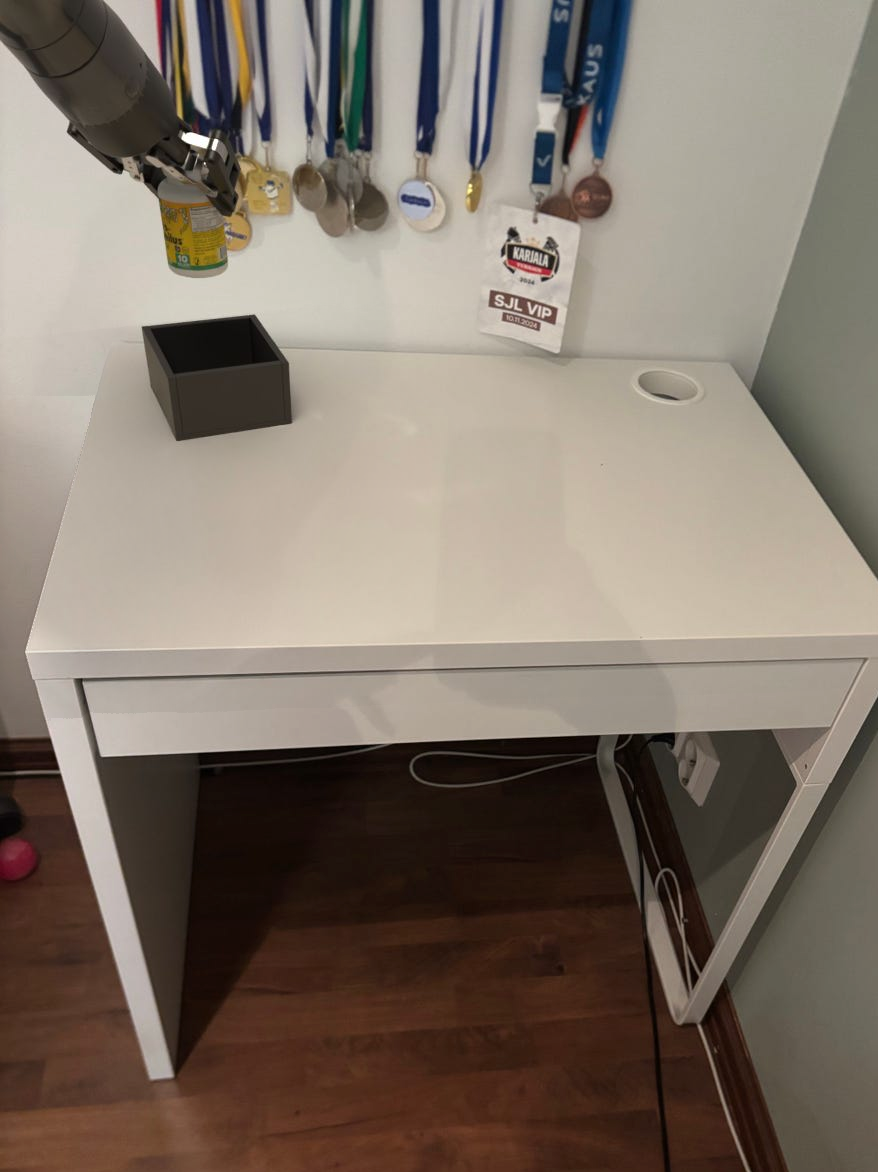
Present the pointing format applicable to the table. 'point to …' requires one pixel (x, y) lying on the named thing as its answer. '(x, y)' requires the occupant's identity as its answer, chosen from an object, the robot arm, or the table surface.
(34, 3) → the robot arm
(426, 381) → the table surface
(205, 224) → the supplement bottle
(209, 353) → the basket
